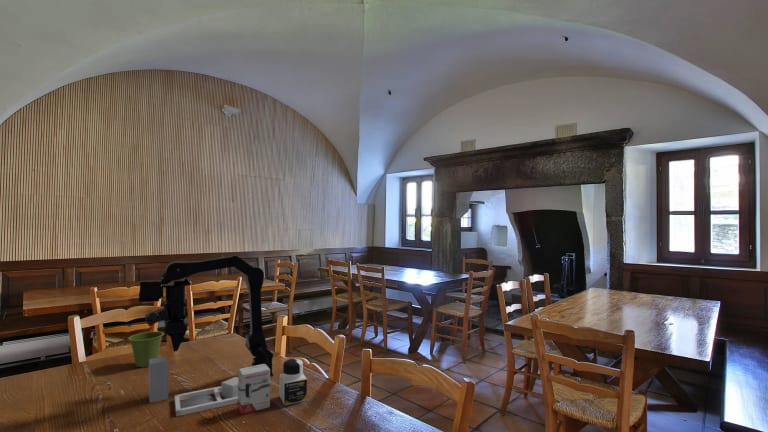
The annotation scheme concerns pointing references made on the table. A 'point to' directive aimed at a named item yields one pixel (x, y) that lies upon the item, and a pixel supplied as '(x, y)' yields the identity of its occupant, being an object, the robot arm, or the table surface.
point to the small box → (229, 388)
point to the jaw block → (158, 379)
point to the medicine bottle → (292, 382)
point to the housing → (201, 401)
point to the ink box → (253, 388)
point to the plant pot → (146, 347)
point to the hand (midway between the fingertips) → (174, 347)
